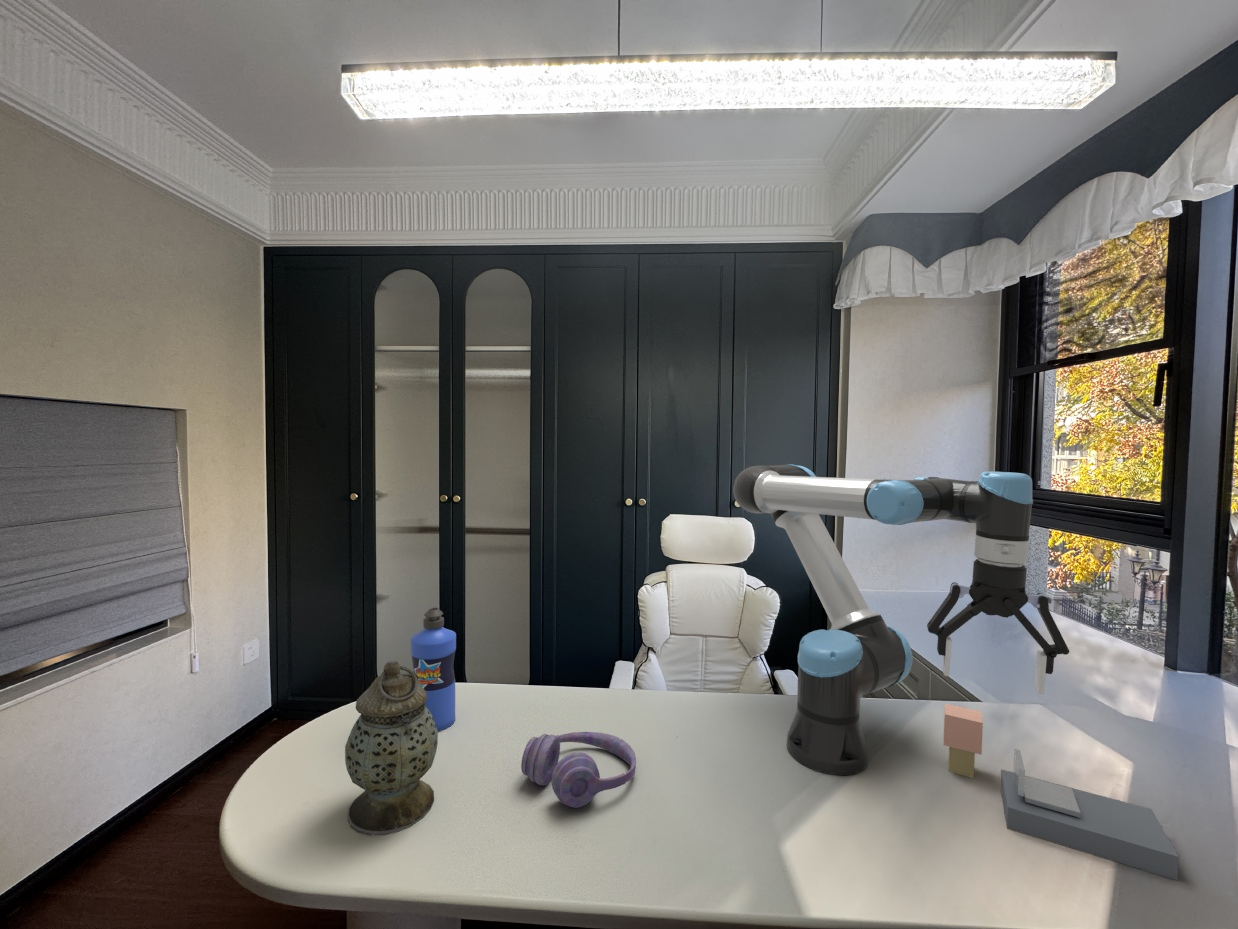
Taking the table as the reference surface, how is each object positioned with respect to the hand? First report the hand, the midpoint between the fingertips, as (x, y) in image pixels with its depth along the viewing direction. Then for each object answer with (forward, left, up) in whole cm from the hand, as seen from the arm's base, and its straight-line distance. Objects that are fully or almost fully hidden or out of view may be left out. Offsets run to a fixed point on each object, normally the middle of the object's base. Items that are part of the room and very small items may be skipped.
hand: (990, 681), depth 95 cm
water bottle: (-102, -34, -21) cm, 110 cm away
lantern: (-86, -57, -21) cm, 105 cm away
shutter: (+8, -2, -17) cm, 19 cm away
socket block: (+12, -2, -21) cm, 24 cm away
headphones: (-64, -33, -21) cm, 74 cm away
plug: (-4, +7, -21) cm, 22 cm away
